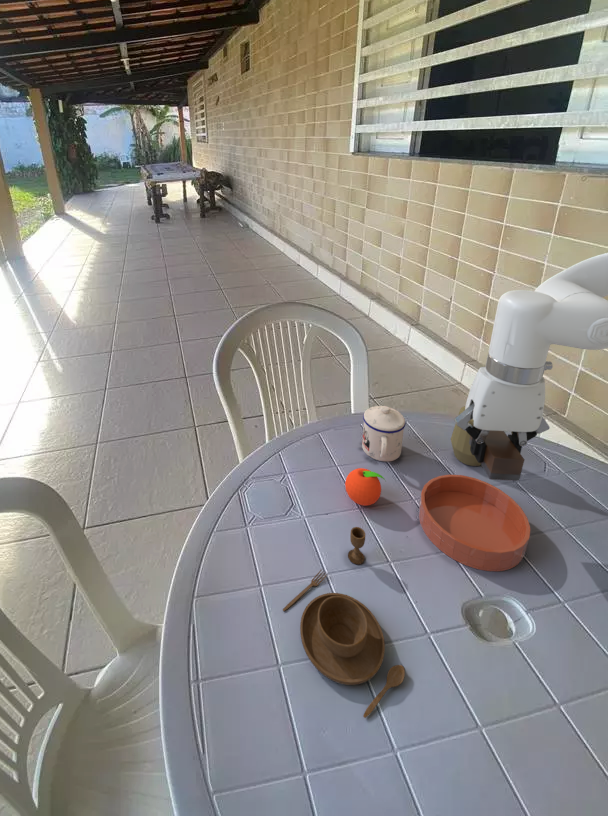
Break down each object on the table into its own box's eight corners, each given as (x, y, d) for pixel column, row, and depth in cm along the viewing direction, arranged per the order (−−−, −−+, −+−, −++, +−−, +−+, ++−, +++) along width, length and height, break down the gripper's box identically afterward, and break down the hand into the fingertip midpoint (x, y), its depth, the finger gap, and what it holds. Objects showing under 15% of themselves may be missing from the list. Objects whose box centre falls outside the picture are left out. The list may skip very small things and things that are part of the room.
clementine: (379, 486, 89) (381, 459, 86) (390, 513, 82) (393, 485, 80) (340, 487, 89) (342, 460, 87) (348, 514, 83) (350, 486, 80)
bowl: (498, 494, 85) (502, 477, 84) (545, 576, 69) (552, 556, 68) (408, 489, 88) (410, 472, 86) (434, 566, 72) (438, 547, 70)
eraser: (494, 444, 78) (499, 424, 76) (519, 481, 70) (524, 459, 68) (468, 443, 79) (472, 423, 77) (489, 479, 70) (494, 457, 69)
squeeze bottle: (443, 444, 99) (454, 378, 93) (480, 446, 98) (493, 379, 92) (455, 469, 92) (468, 399, 85) (496, 471, 91) (511, 401, 84)
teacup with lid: (361, 434, 105) (363, 394, 100) (400, 439, 102) (405, 399, 98) (360, 468, 94) (363, 425, 90) (404, 475, 91) (410, 431, 87)
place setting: (270, 616, 66) (269, 591, 64) (352, 545, 77) (353, 521, 74) (364, 733, 53) (367, 705, 50) (447, 626, 63) (453, 600, 61)
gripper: (558, 357, 69) (534, 446, 76) (448, 354, 72) (435, 441, 79) (588, 381, 63) (559, 477, 69) (465, 378, 65) (448, 470, 72)
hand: (493, 457), depth 74 cm, fingers closed on eraser, 4 cm apart
